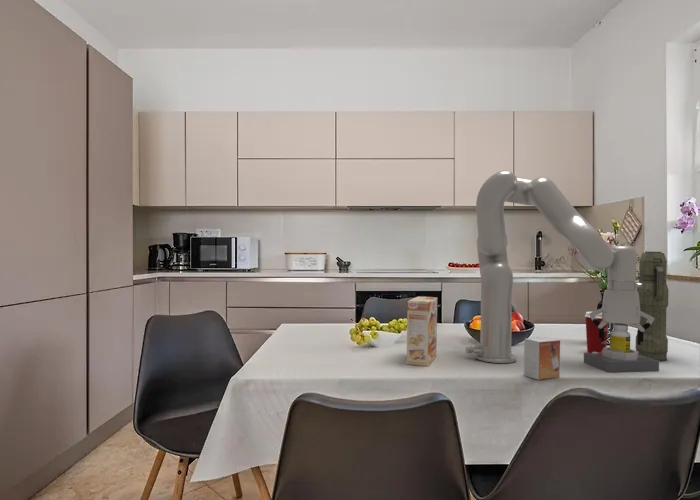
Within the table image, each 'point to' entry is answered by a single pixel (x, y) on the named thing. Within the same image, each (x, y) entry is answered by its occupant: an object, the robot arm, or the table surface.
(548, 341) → the small box
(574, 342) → the table surface
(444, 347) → the table surface
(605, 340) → the paper cup
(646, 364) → the grey bottle holder base
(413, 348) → the coffeecake box
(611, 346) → the supplement bottle
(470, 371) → the table surface
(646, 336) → the thermos
